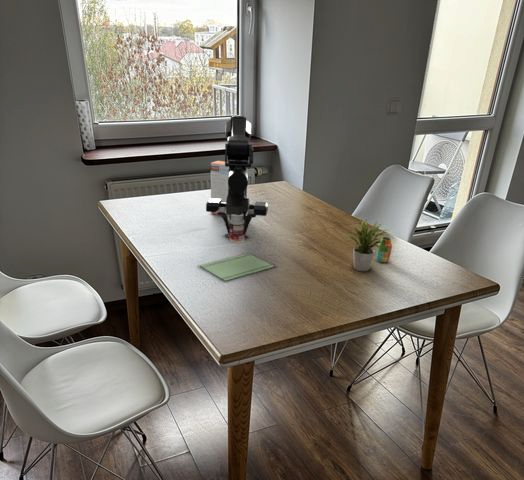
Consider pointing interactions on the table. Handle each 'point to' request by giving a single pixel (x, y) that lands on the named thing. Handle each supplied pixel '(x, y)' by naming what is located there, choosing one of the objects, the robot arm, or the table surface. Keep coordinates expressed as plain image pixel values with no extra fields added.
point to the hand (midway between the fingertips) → (236, 233)
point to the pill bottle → (237, 228)
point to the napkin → (236, 266)
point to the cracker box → (219, 181)
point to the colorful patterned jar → (384, 250)
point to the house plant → (365, 246)
